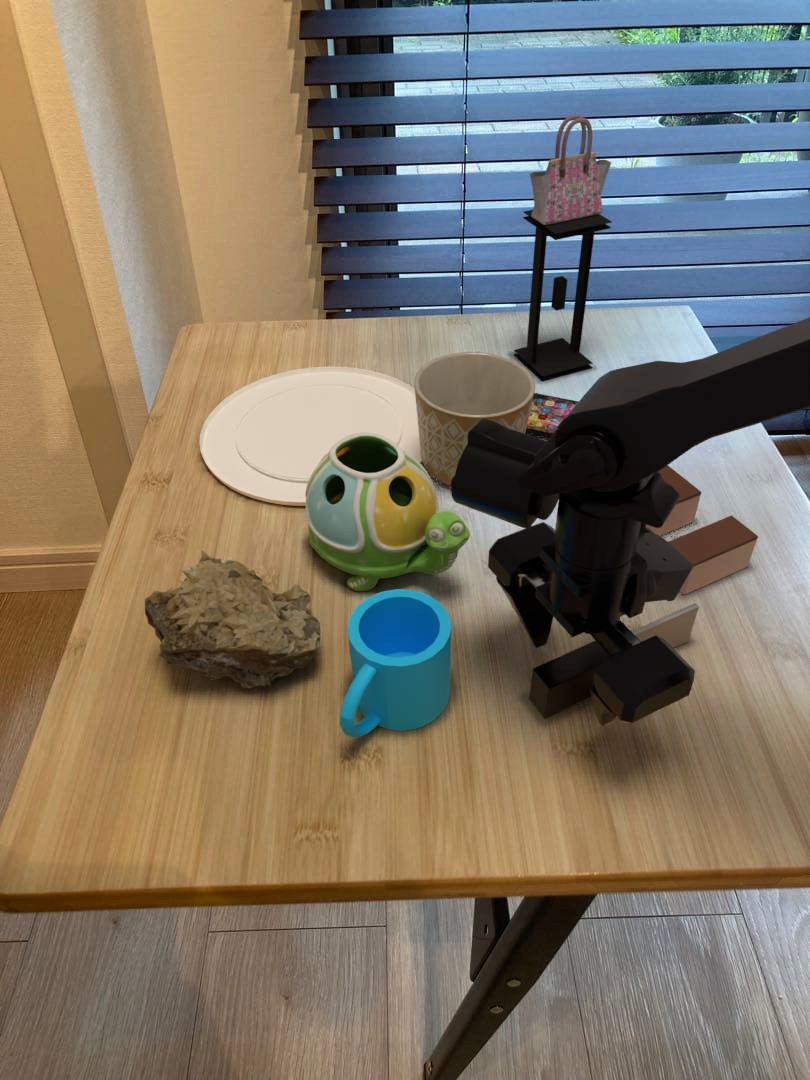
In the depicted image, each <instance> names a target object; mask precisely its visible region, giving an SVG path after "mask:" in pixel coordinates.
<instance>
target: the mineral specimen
mask: <svg viewBox="0 0 810 1080" xmlns="http://www.w3.org/2000/svg"><path fill="white" fill-rule="evenodd" d="M189 567H190V569H181V572H182V573H183V575H184V576H185V579H184V580H179V582H180V584H179V586H178V587H176V588H175V589H174V586H172V587H170V588H168V589H167V590H164V591H158V590H154V591H153V592H152V593H151V594H150V595H149V596H148V597H146V598H144V614H145V617H146V619H147V623H148V625H149V626H151V627H152V628H153V629H154V633H155V636H156V638H158V640H159V641H160V644H159V648H160V653H159V655H158V656H159V657H160V658H161V659H163V660H165V661H166V664H167V666H169V665H170V666H171V667H173V668H176V669H177V668H178V669H184V670H185V669H186V670H192V671H193V670H194V671H197V672H200V674H201V675H203V676H206V677H207V678H208V680H211V681H213V680H218V679H224V678H229V679H232V680H233V681H234V682H236V683H239V684H240V686H241V687H242V688H246V689H247V688H248V689H252V688H255V687H259V686H262V687H266V686H269V687H270V686H272V681H274V680H275V679H276V678H279V679H281V678H282V677H284V676H289V675H291V674H292V673H293V671H295V669H299V670H300V669H303V668H305V667H306V666H307V665H308V664H309V663H310V661H311V660H312V659H313V658H314V656H315V654H316V652H317V649H318V648H319V646H320V645H321V622H320V621H319V620H318V618H317V617H316V616H313V615H310V614H308V613H307V610H308V609H307V608H308V605H309V604H310V603H311V596H310V593H308V592H307V591H306V590H303V589H302V588H301V585H300V584H299V583H295V584H294V585H293V586H292V587H291V588H290V590H289V589H287V590H285V591H284V592H282V593H275V591H272V590H270V589H269V587H267V586H266V585H264V584H263V579H262V578H261V577H260V576H258V575H257V574H256V572H255V570H254V569H251V570H250V569H249V568H248V567H247V566H246V565H245V564H244V563H242V562H240V561H237V560H231V559H228V560H226V561H225V562H222V558H215V557H211V556H210V554H208V553H206V552H205V551H204V550H203V549H201V556H200V559H199V560H198V563H197V564H195V565H189Z"/></svg>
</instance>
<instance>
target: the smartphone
mask: <svg viewBox="0 0 810 1080" xmlns="http://www.w3.org/2000/svg"><path fill="white" fill-rule="evenodd" d="M579 401H580V400H573V399H568V398H564V397H563V398H562V397H558V396H552V395H548V394H542V393H537V392H534V397H533V401H532V405H531V410H530V414H529V419H528V423H527V427H526V432H525V434H527V435H532V436H538V437H544V438H548V439H549V438H550V437H551V436H552V435H553V434H554V433H555V431H556V430H557V426H558V425H559V424H560V423H561V421H562V420H563V419H564V418H565V417H566V416H567V414H568V413H569V412H570V411H571V410H572V409H573V408H574V406H575V405H576V404H577V403H578V402H579Z"/></svg>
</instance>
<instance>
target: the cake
mask: <svg viewBox="0 0 810 1080" xmlns="http://www.w3.org/2000/svg"><path fill="white" fill-rule="evenodd" d="M658 472H659V473H660V474H661V475H662V478H663V479H664V481H666V482H667V483H669V484H671V485H672V486H673V487H674V489H675V490H676V491H677V492H678V493H679V494H680V499H679V500H678V502H677V503H676V505H675V507H674V508H673V510H672V511H671V513H670V515H669V516H668V518H667V520H666V521H665V523H664V524H663V526H662V527H660V528H655V527H652V526H649V525H646V528H649V529H650V530H651V531H652V532H653V533H654V534H657V535H659V536H663V535H665V534H667V533H670V532H672V531H675V530H677V529H680V528H682V527H685V526H687V525H690V524H692V523H694V522H695V518H696V514H697V510H698V507H699V502H700V499H701V495H702V491H701V490H700V489H699V488H697V487H696V486H695V485H693V484H692V483H691V482H690V481H689V480H688V479H686V478H685V477H684V476H682V475H681V474H679V473H678V472H677V471H676V470H675V469H673V468H672V467H671V466H669V464H668V465H667V466H666V467H664V468H663V469H661V470H660V471H658Z"/></svg>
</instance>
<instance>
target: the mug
mask: <svg viewBox="0 0 810 1080" xmlns="http://www.w3.org/2000/svg"><path fill="white" fill-rule="evenodd" d="M346 629H347V637H348V638H347V639H348V646H349V655H350V656H349V657H350V665H351V674H352V682H351V684H350V685H349V688H348V689H347V692H346V694H345V697H344V699H343V701H342V705H341V708H340V714H339V726H340V728H341V730H342V732H343V734H344V735H345V736H347V737H351V738H355V739H358V738H361V737H363V736H366V735H368V734H369V733H370V732H372V731H373V730H374V729H375V728H377V726H378V727H381V728H384V729H386V730H389V731H400V732H401V731H404V732H405V731H411V730H416V729H420V728H422V727H424V726H426V725H428V724H431V723H432V722H434V721H436V720H437V718H438V717H440V716H441V714H442V713H444V711H445V709H446V707H447V705H448V704H449V701H450V694H451V656H452V655H451V653H452V651H451V650H452V621H451V619H450V615H449V612H448V611H447V609H446V608H445V607H444V606H443V604H441V602H440V601H438V600H437V599H436V598H434V597H432V596H430V595H429V594H427V593H424V592H422V591H421V592H420V591H417V590H414V589H404V588H403V589H402V588H401V589H400V588H395V589H390V590H384V591H380V592H378V593H375V594H373V595H370V596H368V597H367V598H365V599H364V600H363V601H361V602H360V603H359V604H358V605H357V606H356V607H355V608H354V610H353V611H352V613H351V615H350V616H349V620H348V624H347V628H346ZM358 710H359V711H360V712H361V714H362V715H363V717H364V718H363V719H362V720H360V721H359V722H358V723H355V722H356V715H357V712H358Z"/></svg>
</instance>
